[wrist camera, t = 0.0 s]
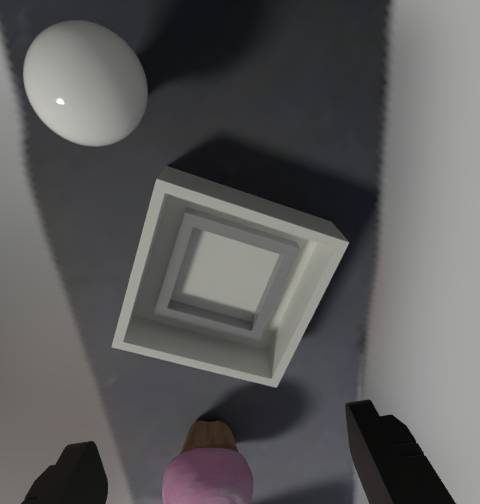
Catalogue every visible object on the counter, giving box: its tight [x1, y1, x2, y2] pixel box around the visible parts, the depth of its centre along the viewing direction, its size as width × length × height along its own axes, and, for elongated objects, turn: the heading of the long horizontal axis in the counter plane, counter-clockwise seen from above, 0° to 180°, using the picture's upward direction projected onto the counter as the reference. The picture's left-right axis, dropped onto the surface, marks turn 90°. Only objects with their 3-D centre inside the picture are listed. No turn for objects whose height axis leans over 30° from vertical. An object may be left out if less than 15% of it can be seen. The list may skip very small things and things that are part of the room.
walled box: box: [112, 166, 349, 388], centre depth 32 cm, size 15×15×5 cm
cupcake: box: [162, 421, 253, 504], centre depth 37 cm, size 9×9×10 cm
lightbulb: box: [23, 20, 148, 146], centre depth 23 cm, size 6×6×11 cm
